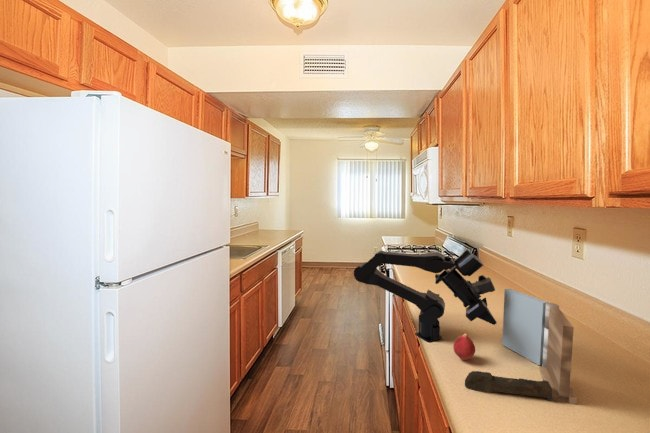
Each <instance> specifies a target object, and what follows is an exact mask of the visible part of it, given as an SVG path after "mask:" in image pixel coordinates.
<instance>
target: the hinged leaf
mask: <svg viewBox="0 0 650 433" xmlns="http://www.w3.org/2000/svg"><path fill="white" fill-rule="evenodd" d="M503 295H504V297H503V298H504V299H503V300H504V301H503V315H502V316H503V321H502V322H503V323H502V339H501V340H502V343H501V345H502V346H504V347H506V348H508V349H509V350H511V351H513V352H515V353H516V354H519V355H520V356H522V357H523V358H525V359H526V360H528V361H531V362H532V363H534V364H536V365H538V366H542V362H543V346H544V347H545V348H547V345H548V329H547V328H545V309H546V303H550V302H549V301H547V300H544V299H540V298H537V297H534V296H532V295H530V294H527V293H525V292H520V291H518V290H514V289H512V288H505V289H504V294H503Z"/></svg>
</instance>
